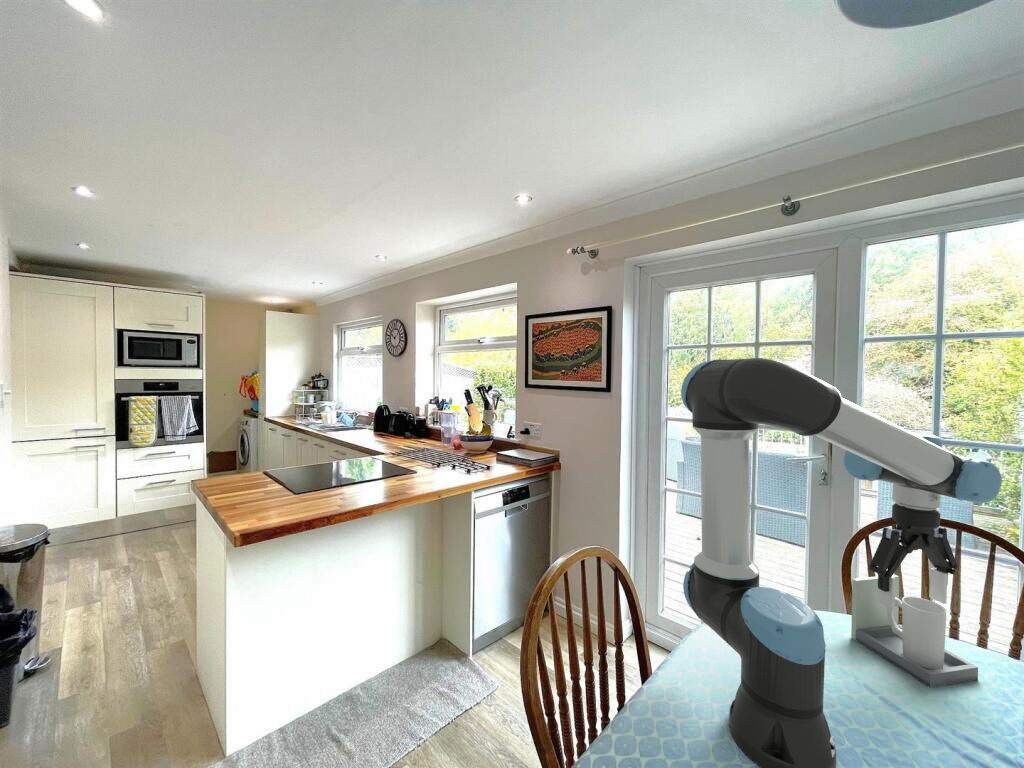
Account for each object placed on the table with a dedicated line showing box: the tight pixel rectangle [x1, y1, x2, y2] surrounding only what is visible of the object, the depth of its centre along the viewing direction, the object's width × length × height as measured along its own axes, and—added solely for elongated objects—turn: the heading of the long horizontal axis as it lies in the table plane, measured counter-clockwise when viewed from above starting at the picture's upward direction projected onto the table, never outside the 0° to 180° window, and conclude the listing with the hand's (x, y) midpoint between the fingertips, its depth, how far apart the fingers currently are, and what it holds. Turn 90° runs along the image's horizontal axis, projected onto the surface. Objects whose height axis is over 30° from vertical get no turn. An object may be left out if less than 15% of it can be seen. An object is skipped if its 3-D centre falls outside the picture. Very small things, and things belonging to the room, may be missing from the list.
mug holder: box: [850, 574, 979, 689], centre depth 92 cm, size 12×16×14 cm
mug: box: [887, 595, 947, 670], centre depth 91 cm, size 10×7×12 cm, turn 16°
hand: (912, 603), depth 91 cm, fingers open, 13 cm apart
